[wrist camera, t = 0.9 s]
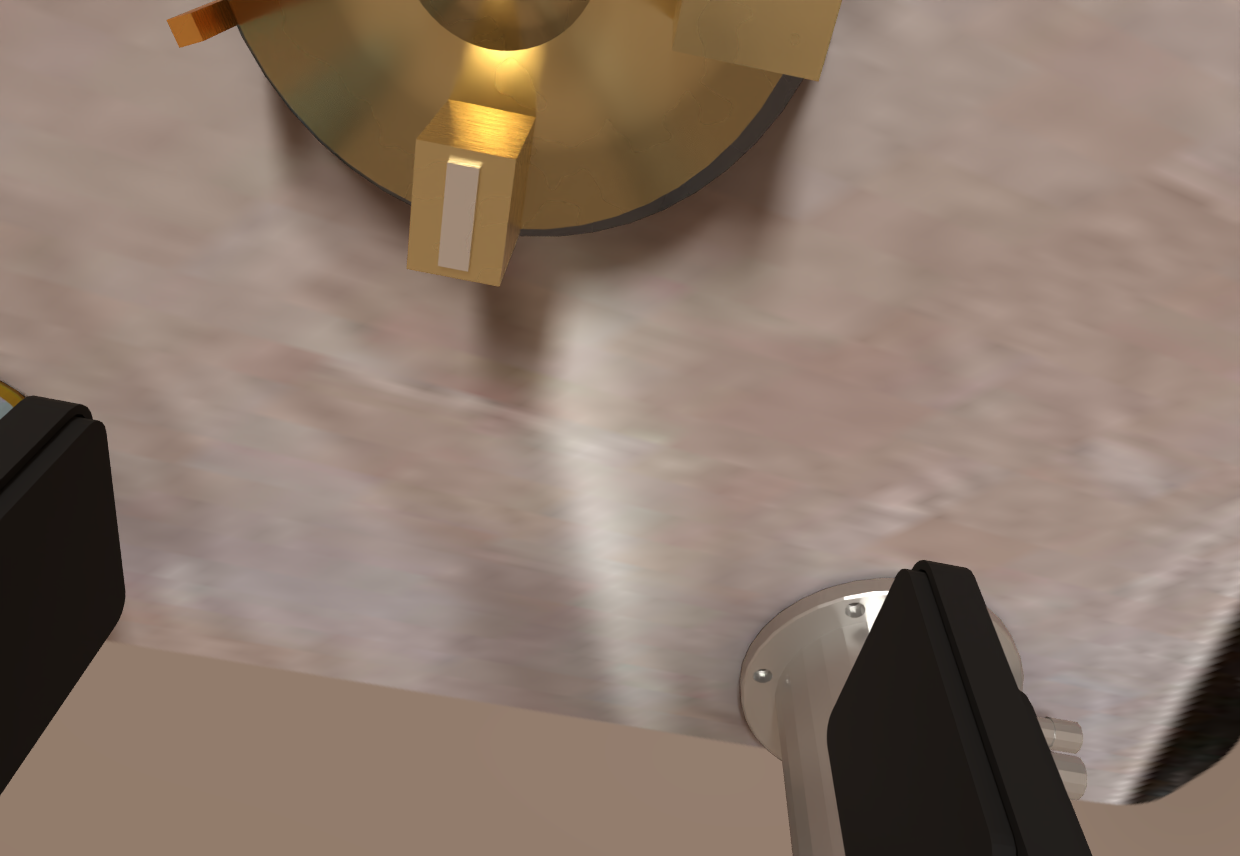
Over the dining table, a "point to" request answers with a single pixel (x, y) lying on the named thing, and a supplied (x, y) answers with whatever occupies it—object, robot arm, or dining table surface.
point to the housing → (222, 18)
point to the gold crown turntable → (528, 102)
